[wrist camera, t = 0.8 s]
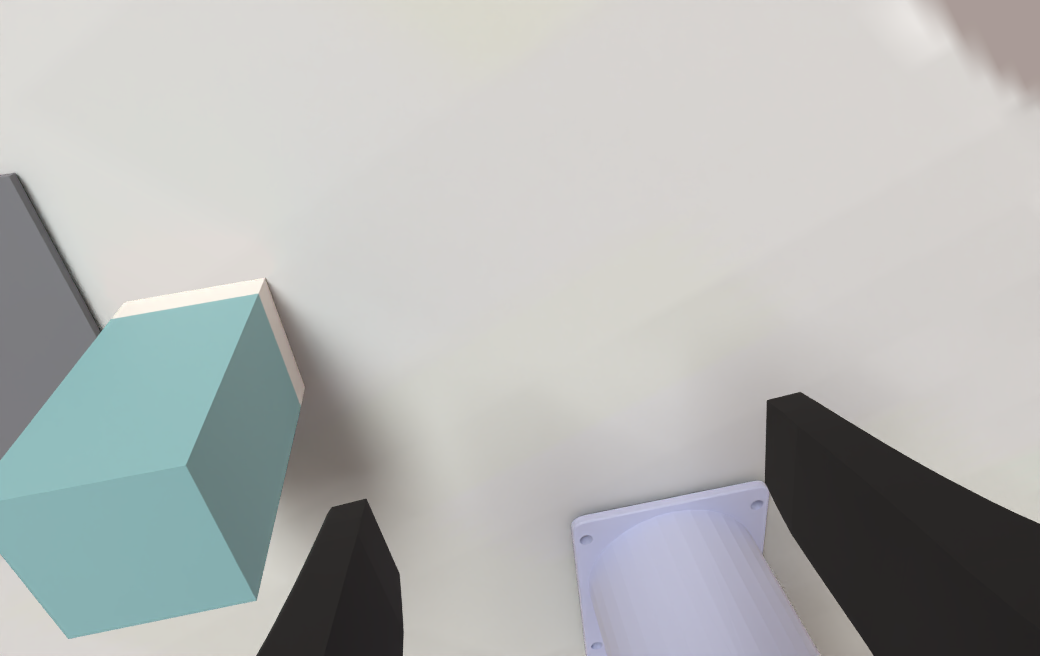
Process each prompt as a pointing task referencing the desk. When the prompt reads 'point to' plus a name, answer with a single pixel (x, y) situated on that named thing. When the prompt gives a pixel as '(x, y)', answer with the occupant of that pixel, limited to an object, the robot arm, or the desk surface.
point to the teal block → (156, 463)
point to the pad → (34, 314)
